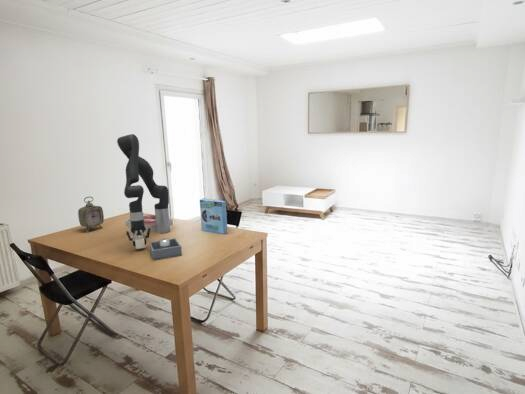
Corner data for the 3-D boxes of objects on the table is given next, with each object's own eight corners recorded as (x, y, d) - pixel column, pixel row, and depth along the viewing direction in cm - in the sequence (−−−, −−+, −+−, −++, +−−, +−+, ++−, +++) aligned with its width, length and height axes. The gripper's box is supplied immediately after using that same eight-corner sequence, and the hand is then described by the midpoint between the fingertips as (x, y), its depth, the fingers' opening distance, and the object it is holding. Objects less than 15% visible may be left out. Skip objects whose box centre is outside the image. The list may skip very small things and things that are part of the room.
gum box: (227, 232, 224) (226, 200, 220) (223, 234, 220) (221, 202, 215) (205, 228, 234) (204, 198, 229) (201, 230, 229) (199, 199, 225)
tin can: (159, 250, 189) (158, 239, 188) (169, 249, 191) (168, 237, 190) (161, 253, 184) (160, 242, 183) (171, 251, 187) (170, 240, 185)
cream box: (135, 246, 196) (134, 237, 195) (143, 244, 198) (142, 236, 197) (136, 249, 191) (135, 240, 190) (145, 247, 193) (144, 238, 192)
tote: (149, 251, 191) (149, 242, 190) (176, 246, 198) (175, 238, 197) (153, 260, 178) (152, 250, 176) (181, 255, 184) (181, 246, 183)
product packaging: (150, 220, 261) (149, 214, 260) (172, 225, 245) (172, 219, 244) (126, 226, 244) (125, 220, 243) (148, 232, 228) (147, 226, 227)
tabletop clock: (86, 233, 228) (81, 199, 222) (79, 231, 232) (74, 198, 227) (105, 228, 240) (101, 195, 235) (97, 226, 244) (93, 194, 239)
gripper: (124, 222, 184) (127, 249, 188) (150, 218, 191) (153, 245, 194) (123, 218, 191) (126, 246, 194) (148, 215, 197) (151, 241, 201)
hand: (139, 245), depth 194 cm, fingers closed on cream box, 5 cm apart
